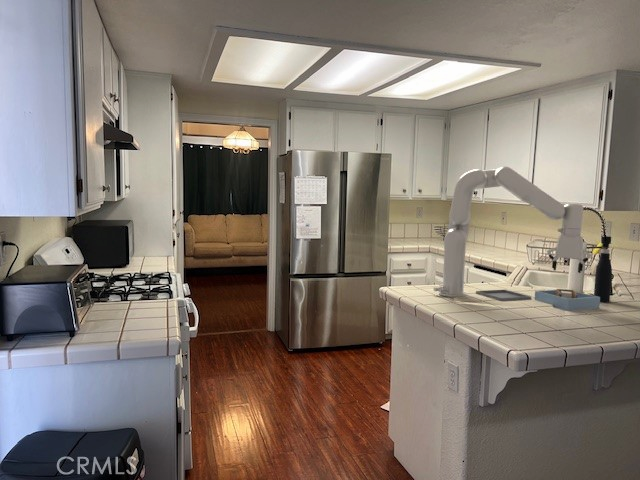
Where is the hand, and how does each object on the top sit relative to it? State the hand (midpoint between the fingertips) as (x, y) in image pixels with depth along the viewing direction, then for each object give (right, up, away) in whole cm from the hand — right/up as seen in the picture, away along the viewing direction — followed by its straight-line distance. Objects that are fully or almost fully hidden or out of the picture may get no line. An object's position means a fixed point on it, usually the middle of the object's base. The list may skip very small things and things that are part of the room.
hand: (566, 271), depth 211 cm
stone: (0, -13, +2) cm, 13 cm away
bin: (0, -15, +1) cm, 15 cm away
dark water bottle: (+23, -15, +13) cm, 30 cm away
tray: (-23, -13, +12) cm, 30 cm away
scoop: (0, -14, +1) cm, 14 cm away
